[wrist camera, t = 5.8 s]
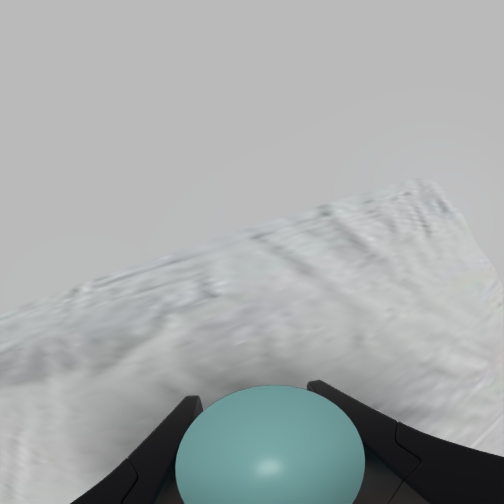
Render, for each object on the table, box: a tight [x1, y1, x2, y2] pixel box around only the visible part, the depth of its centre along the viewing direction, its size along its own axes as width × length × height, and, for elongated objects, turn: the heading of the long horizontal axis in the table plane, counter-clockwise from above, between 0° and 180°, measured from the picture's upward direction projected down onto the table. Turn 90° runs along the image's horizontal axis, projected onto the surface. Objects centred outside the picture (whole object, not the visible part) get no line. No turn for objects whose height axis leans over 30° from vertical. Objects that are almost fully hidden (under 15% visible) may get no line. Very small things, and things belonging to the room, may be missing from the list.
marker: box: [175, 385, 365, 504], centre depth 9 cm, size 4×4×11 cm
